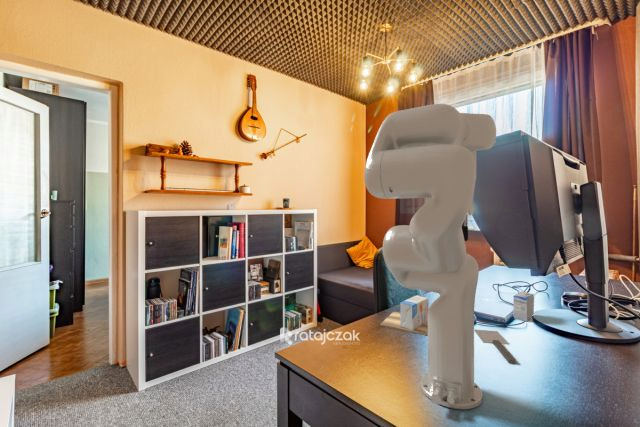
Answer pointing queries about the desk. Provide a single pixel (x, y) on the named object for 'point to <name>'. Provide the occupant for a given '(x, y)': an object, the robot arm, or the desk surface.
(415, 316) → the ink box
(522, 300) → the medicine box
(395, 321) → the cork mat
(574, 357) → the desk surface
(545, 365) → the desk surface
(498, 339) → the steel turner
